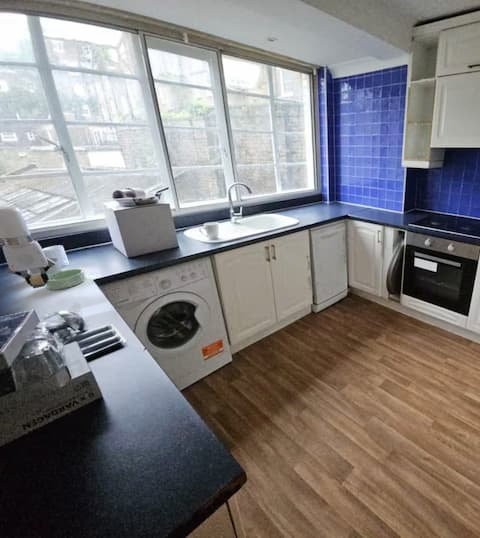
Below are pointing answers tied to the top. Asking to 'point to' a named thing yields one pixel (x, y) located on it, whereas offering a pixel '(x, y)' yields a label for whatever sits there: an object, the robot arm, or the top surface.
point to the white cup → (57, 254)
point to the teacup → (51, 270)
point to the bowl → (65, 279)
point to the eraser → (37, 280)
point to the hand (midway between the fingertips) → (39, 283)
